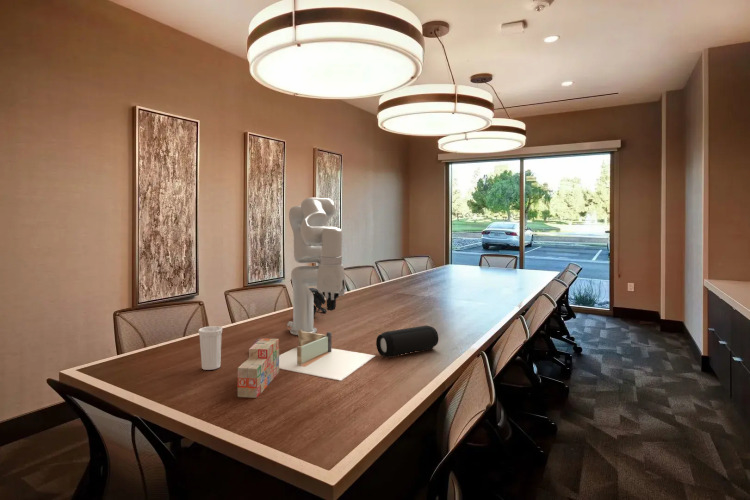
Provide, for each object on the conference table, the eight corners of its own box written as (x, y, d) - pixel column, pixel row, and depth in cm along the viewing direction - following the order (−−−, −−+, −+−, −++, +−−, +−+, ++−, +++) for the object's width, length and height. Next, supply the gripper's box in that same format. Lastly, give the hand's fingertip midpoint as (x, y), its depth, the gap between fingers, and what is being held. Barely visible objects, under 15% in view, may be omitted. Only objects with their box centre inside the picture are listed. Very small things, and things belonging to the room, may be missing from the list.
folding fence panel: (325, 350, 167) (325, 335, 166) (328, 351, 166) (328, 335, 165) (296, 363, 151) (296, 346, 151) (299, 364, 151) (299, 347, 150)
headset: (321, 327, 235) (293, 313, 214) (309, 315, 242) (281, 300, 221) (339, 305, 236) (313, 289, 214) (327, 293, 243) (300, 276, 222)
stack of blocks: (257, 398, 124) (256, 358, 123) (237, 397, 125) (236, 357, 124) (279, 372, 145) (279, 338, 145) (262, 371, 146) (261, 337, 145)
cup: (208, 373, 143) (207, 333, 142) (194, 368, 147) (193, 329, 146) (227, 366, 150) (227, 328, 149) (213, 362, 154) (213, 324, 153)
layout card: (260, 365, 152) (260, 364, 152) (303, 344, 177) (303, 343, 177) (341, 381, 138) (341, 380, 138) (375, 356, 163) (375, 355, 163)
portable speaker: (424, 344, 179) (425, 322, 179) (439, 351, 171) (440, 327, 170) (374, 354, 166) (375, 330, 165) (388, 361, 158) (388, 336, 157)
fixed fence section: (297, 347, 173) (297, 328, 172) (300, 345, 175) (300, 327, 174) (329, 352, 166) (329, 333, 166) (332, 351, 168) (332, 332, 168)
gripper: (309, 260, 152) (308, 309, 154) (344, 263, 146) (343, 314, 148) (319, 258, 159) (319, 305, 161) (354, 261, 153) (353, 310, 155)
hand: (331, 309), depth 154 cm, fingers closed
